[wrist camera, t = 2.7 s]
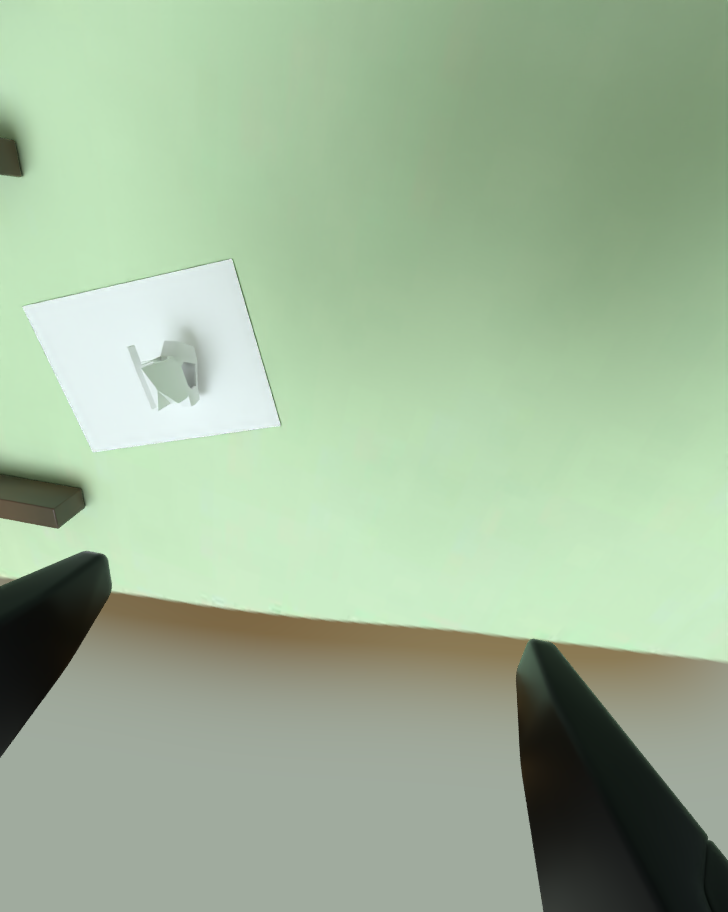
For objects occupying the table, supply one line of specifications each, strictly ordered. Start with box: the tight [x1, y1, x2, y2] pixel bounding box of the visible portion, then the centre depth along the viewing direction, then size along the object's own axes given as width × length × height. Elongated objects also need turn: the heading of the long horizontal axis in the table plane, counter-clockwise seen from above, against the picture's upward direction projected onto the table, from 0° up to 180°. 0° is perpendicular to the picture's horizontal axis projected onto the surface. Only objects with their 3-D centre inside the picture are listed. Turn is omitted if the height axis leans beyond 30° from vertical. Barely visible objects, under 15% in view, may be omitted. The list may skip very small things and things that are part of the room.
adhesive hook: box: [125, 340, 201, 412], centre depth 19 cm, size 3×3×3 cm
